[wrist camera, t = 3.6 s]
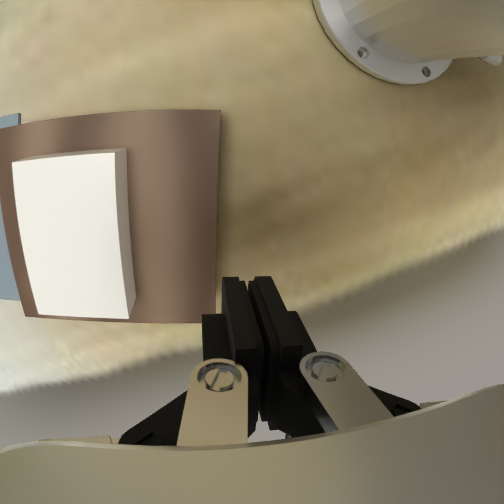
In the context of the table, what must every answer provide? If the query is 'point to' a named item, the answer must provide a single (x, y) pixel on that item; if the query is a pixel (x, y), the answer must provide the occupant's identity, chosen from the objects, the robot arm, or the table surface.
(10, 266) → the mat
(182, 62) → the table surface
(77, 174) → the tile
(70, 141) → the brown wooden block
